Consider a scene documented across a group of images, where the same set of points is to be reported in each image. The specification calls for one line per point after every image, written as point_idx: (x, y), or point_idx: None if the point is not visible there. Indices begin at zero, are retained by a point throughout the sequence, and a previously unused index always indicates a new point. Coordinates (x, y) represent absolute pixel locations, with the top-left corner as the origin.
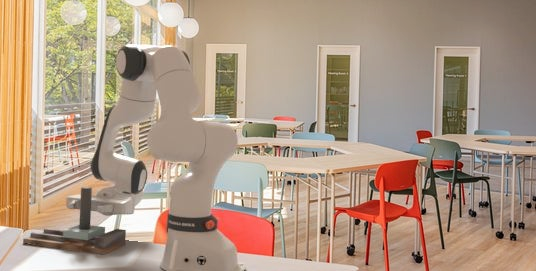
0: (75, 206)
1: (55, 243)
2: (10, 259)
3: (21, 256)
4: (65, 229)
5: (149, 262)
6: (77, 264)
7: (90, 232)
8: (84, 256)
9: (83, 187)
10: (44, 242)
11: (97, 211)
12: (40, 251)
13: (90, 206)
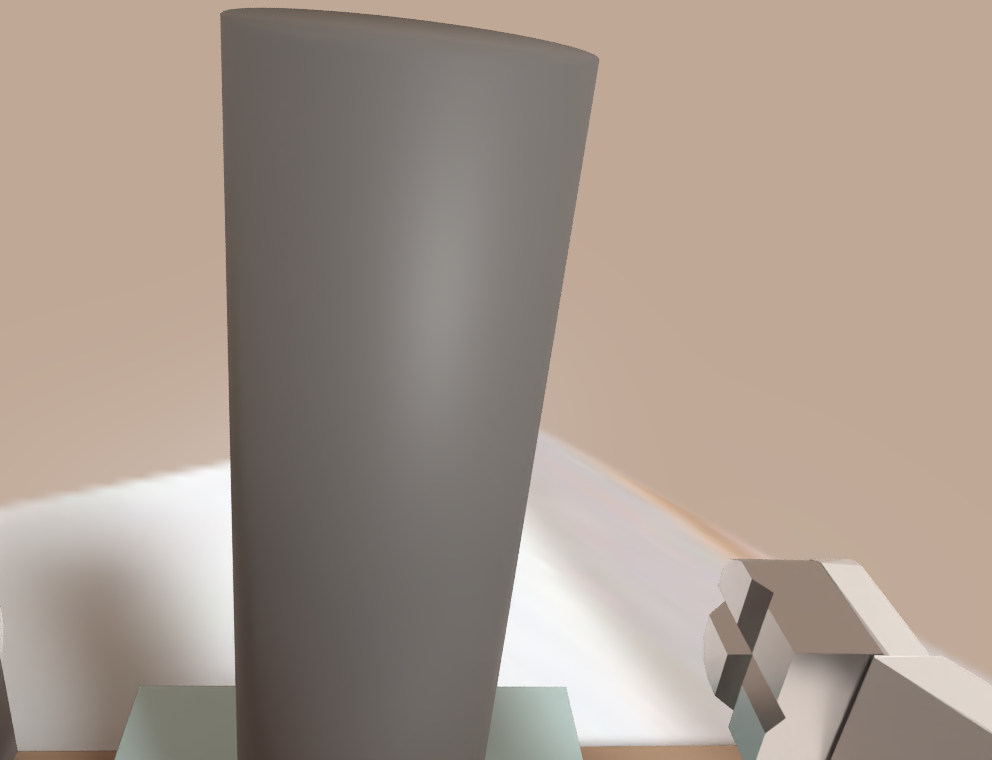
0: (754, 689)
1: (584, 752)
2: (595, 482)
3: (600, 537)
4: (573, 727)
5: None
6: (93, 521)
7: (121, 741)
8: (113, 694)
9: (544, 50)
10: (729, 756)
11: (2, 632)
12: (608, 670)
13: (235, 568)
